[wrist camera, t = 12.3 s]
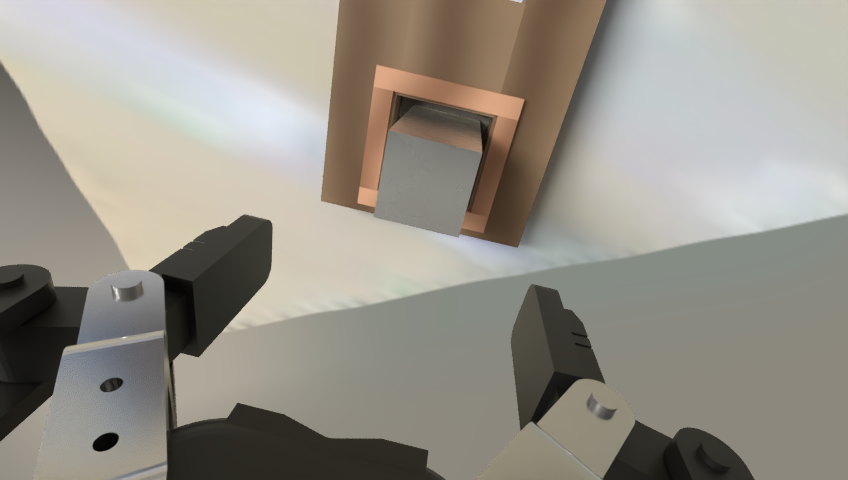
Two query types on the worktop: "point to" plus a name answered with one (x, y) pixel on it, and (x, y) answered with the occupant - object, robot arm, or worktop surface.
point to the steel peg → (429, 170)
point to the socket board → (457, 93)
